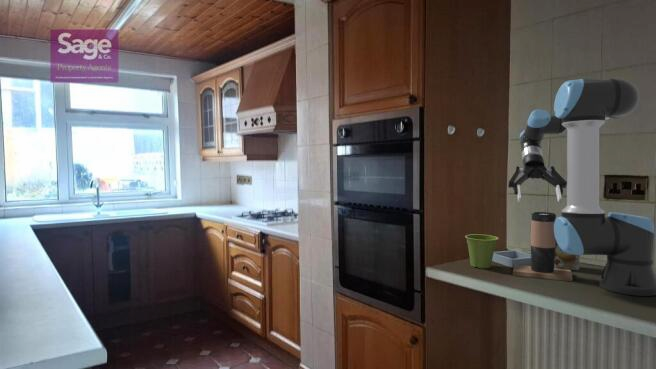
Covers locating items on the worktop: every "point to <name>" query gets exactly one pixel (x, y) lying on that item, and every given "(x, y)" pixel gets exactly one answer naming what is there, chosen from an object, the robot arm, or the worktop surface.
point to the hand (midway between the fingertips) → (539, 200)
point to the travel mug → (543, 242)
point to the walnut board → (556, 275)
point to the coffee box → (565, 259)
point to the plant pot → (481, 249)
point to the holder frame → (507, 256)
